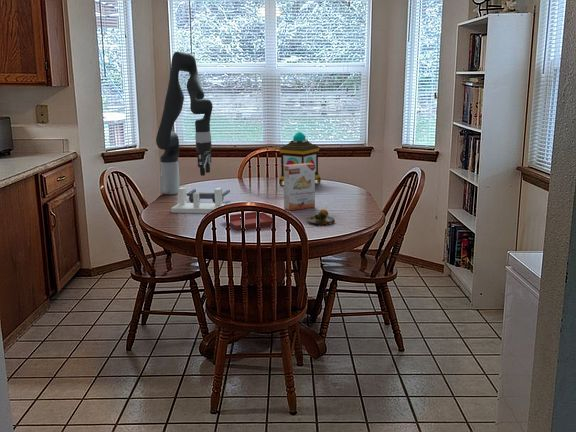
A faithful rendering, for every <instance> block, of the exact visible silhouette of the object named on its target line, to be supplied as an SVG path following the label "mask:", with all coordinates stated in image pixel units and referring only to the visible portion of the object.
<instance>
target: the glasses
mask: <svg viewBox="0 0 576 432" xmlns="http://www.w3.org/2000/svg"><path fill="white" fill-rule="evenodd" d="M194 193H197V189H195V188H194V189H191V190H190V191H188V192H186V197H188V200H189V203H193V194H194ZM198 193H199V201H201V200H212V203H215V192H198ZM230 193H231V190H230V189H227V190H225V191H224V192H222V200H223V201H224V197H225V196H227V195H228V194H230Z"/></svg>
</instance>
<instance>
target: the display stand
mask: <svg viewBox="0 0 576 432" xmlns="http://www.w3.org/2000/svg"><path fill="white" fill-rule="evenodd" d="M186 189H187V188H186V187H185V186H183V187H182V186H180V188H179V189H178V194H177V196H178V197H177V198H178V199H177V200H178V203H177V204H176V205H174V206H172V207H171V208H170V213H179V214H180V213H182V214H209V213H208V212H210V211H212V210H213V209H215V208H218V207H220V206H224V205H226V206H227V203H223V201H224V199H223V200H222V193H223V188H222V187H216V188H214V189H213V190H214V193H215V203H214V202H212V203H211V202H200V201H201V200H200V201H199V193H200V192H195V193H194V194H193V203H191V202H187V201H188V200H187V190H186Z"/></svg>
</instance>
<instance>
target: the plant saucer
mask: <svg viewBox="0 0 576 432" xmlns="http://www.w3.org/2000/svg"><path fill="white" fill-rule="evenodd" d="M256 212H257V211H251V212H244V213H245V228H246V229H245V230H251V229H257V228H256ZM241 214H242V213H236V214H229V215H230V224H229V225H230V226H232V227H233V228H234V229H236V230H237V231H242V230H241V218H240V217H241ZM225 216H226V215H222V218H223V219H224V220H225ZM272 218H273V217H272V216H271V215H268V213H265V212H264V213H260V228H267V227H271V226H272V225H273V224H272Z"/></svg>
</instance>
